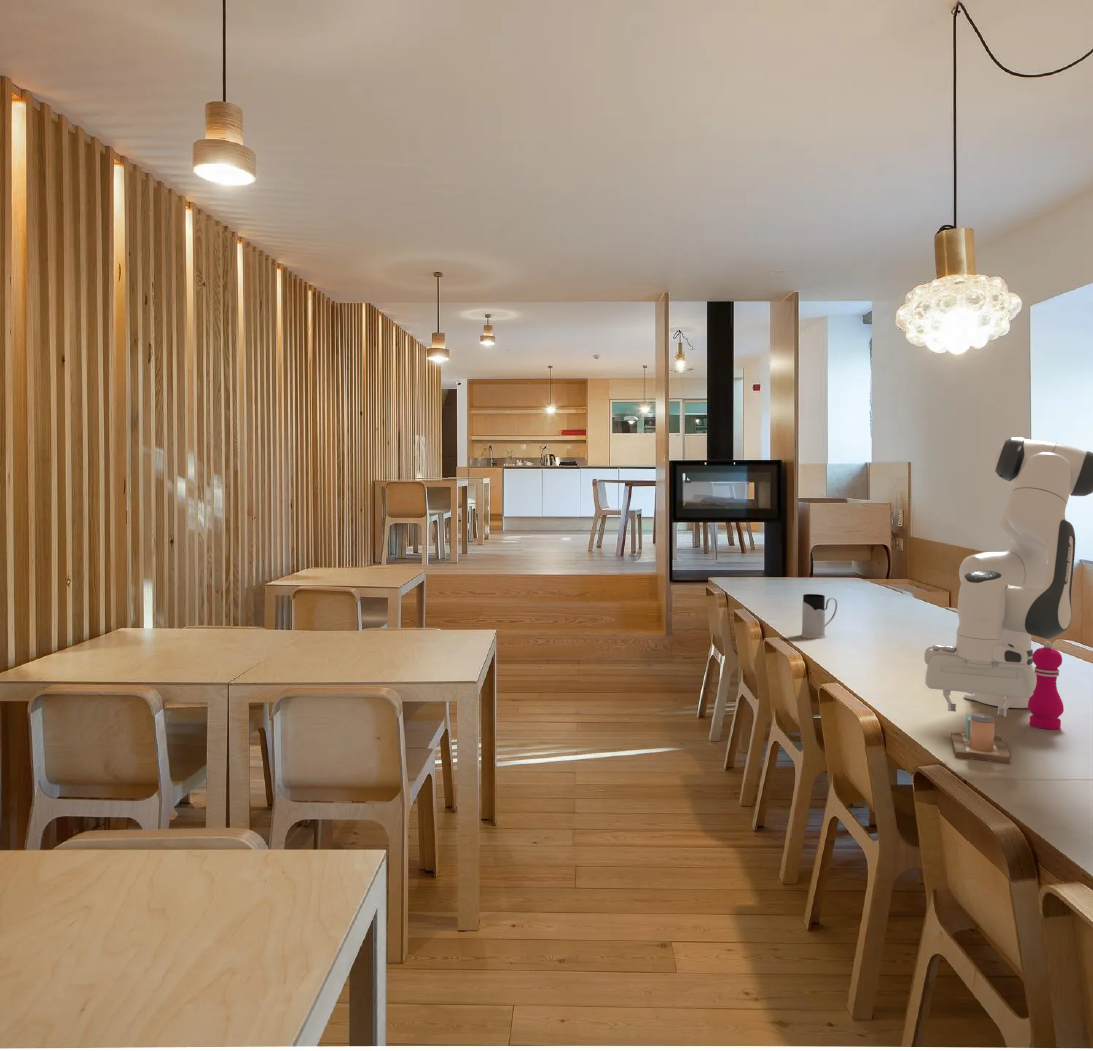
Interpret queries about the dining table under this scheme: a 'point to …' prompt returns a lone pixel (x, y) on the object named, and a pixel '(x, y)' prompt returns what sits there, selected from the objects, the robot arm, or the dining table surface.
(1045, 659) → the pepper mill
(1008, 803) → the dining table surface
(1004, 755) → the board
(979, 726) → the peach upright cylinder
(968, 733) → the teal block
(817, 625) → the glass holder
